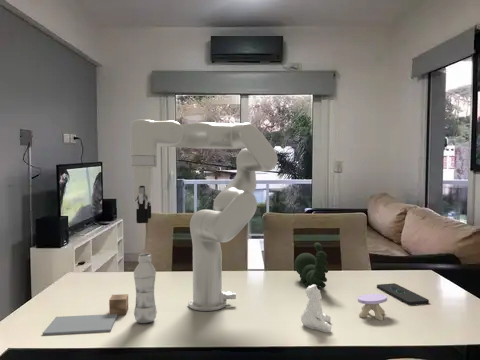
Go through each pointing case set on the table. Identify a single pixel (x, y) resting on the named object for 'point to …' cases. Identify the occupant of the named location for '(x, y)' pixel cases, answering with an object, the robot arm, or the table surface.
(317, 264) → the toy figurine
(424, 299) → the smart home device
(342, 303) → the table surface
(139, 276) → the plastic bottle
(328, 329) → the seated beast figurine
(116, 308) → the walnut block
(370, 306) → the toy table
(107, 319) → the slate mat
